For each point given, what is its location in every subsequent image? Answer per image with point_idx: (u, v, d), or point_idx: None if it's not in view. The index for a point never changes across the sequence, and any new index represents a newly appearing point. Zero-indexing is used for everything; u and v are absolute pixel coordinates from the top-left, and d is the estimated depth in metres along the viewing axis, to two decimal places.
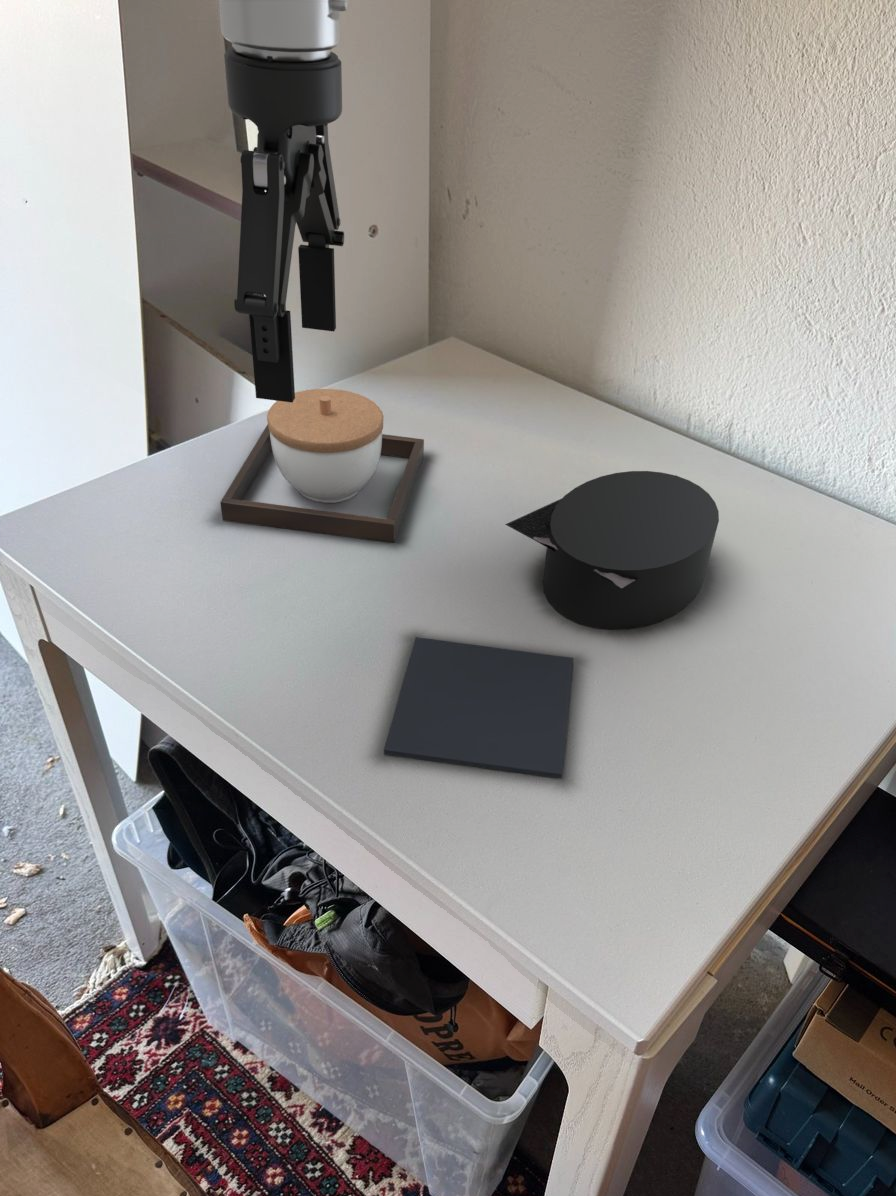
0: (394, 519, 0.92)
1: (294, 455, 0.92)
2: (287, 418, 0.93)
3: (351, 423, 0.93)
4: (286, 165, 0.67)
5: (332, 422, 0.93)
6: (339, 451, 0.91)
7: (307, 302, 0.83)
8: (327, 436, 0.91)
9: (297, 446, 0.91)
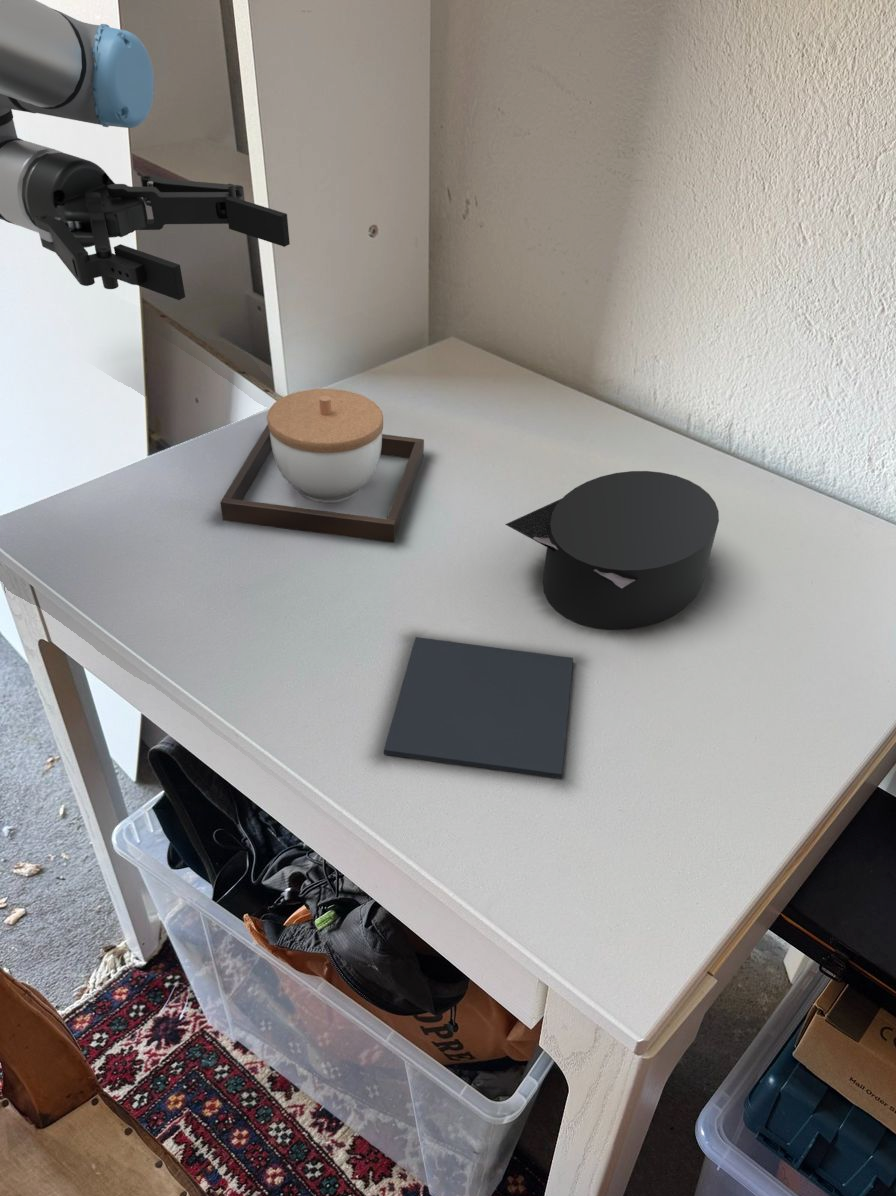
0: (394, 519, 0.92)
1: (294, 455, 0.92)
2: (287, 418, 0.93)
3: (351, 423, 0.93)
4: None
5: (332, 422, 0.93)
6: (339, 451, 0.91)
7: None
8: (327, 436, 0.91)
9: (297, 446, 0.91)
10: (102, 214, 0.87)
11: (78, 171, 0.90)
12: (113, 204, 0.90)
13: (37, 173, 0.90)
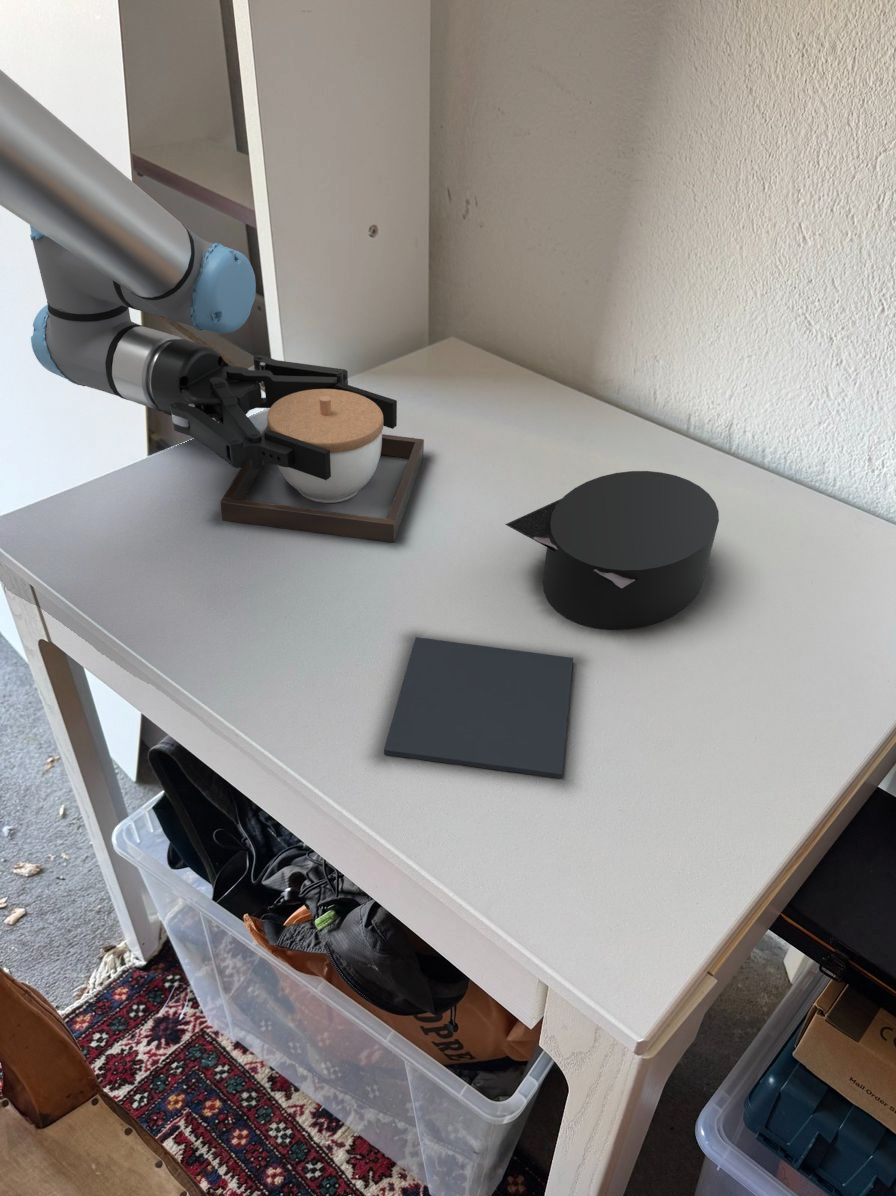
0: (394, 519, 0.92)
1: None
2: (287, 418, 0.93)
3: (351, 423, 0.93)
4: None
5: (332, 422, 0.93)
6: (339, 451, 0.91)
7: None
8: (327, 436, 0.91)
9: None
10: (234, 399, 0.94)
11: (200, 358, 0.97)
12: (233, 387, 0.97)
13: (162, 360, 0.96)
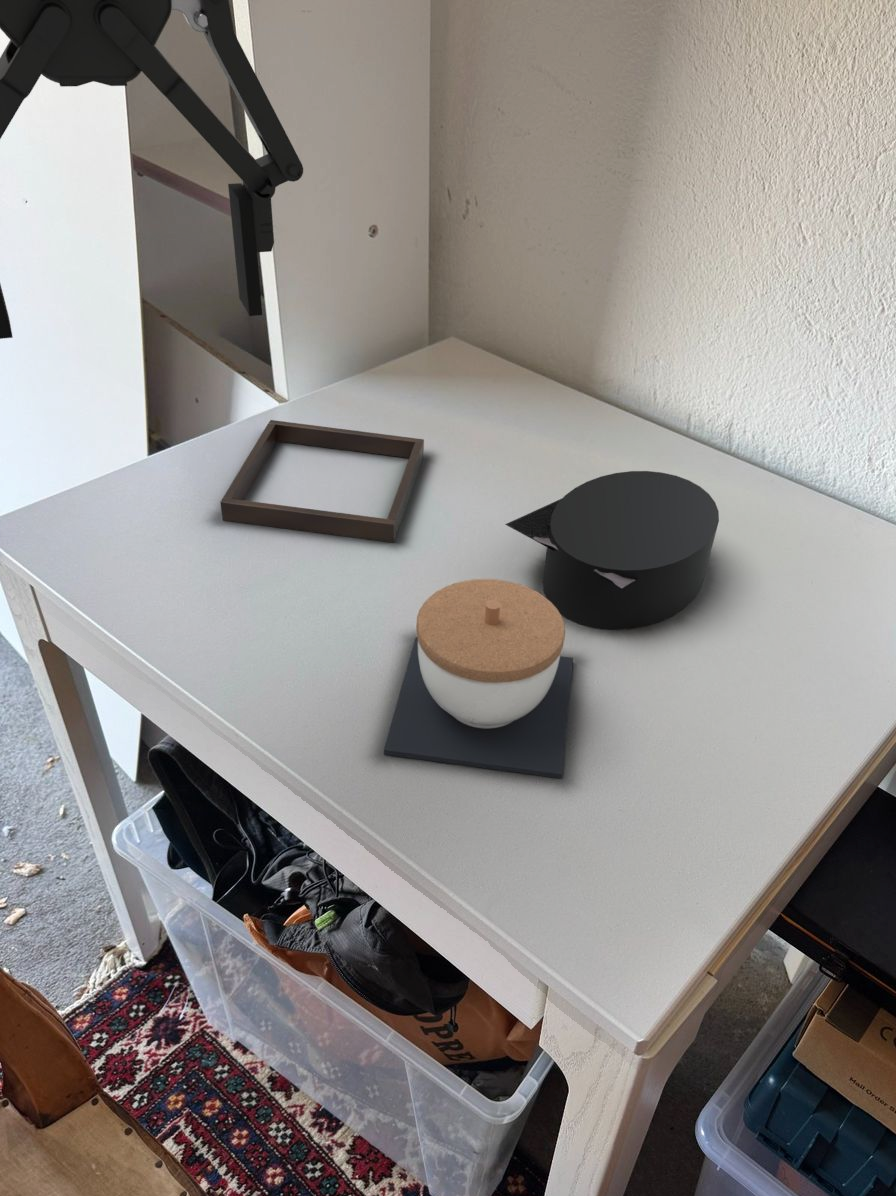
0: (394, 519, 0.92)
1: (422, 657, 0.72)
2: (443, 609, 0.73)
3: (504, 647, 0.70)
4: None
5: (484, 637, 0.71)
6: (464, 677, 0.69)
7: (237, 265, 0.59)
8: (459, 653, 0.69)
9: (424, 649, 0.71)
10: None
11: None
12: None
13: None
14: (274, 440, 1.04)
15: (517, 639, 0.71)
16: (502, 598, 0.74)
